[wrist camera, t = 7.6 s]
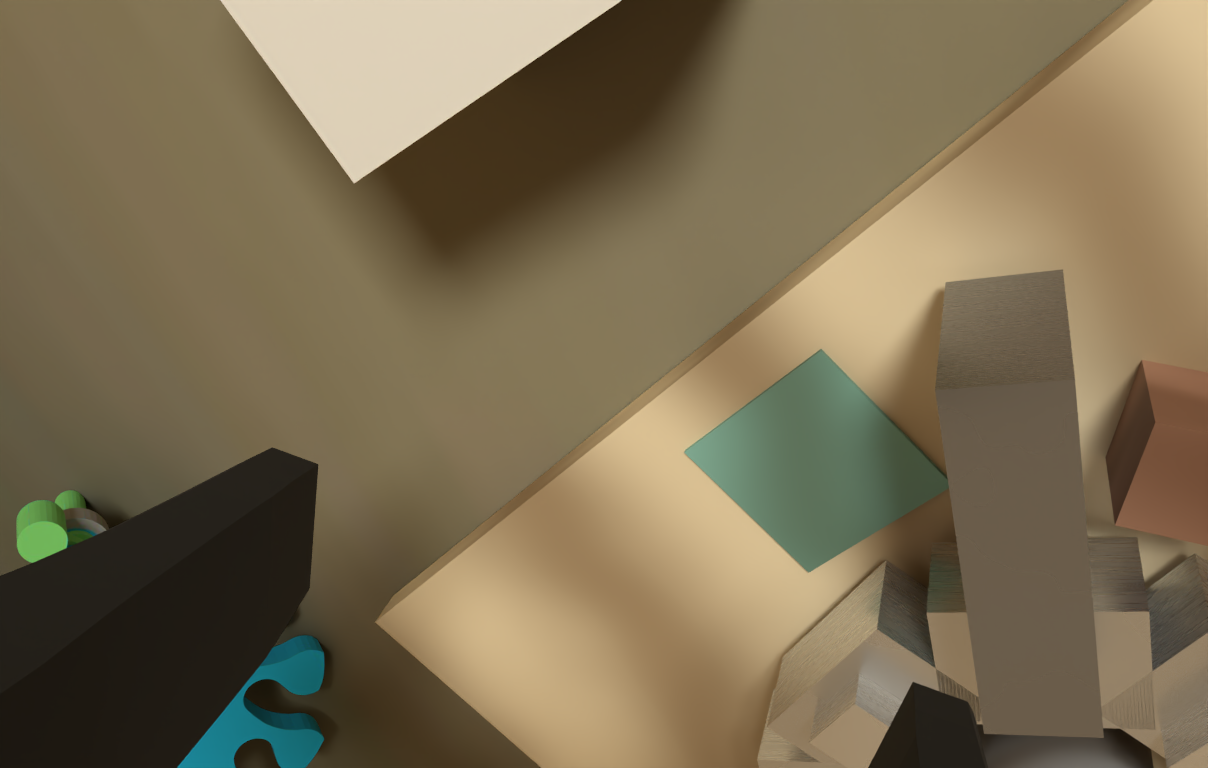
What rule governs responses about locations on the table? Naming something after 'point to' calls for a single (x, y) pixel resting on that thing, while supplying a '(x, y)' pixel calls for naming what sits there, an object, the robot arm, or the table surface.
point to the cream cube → (398, 61)
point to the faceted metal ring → (1006, 575)
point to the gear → (242, 720)
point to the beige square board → (854, 433)
